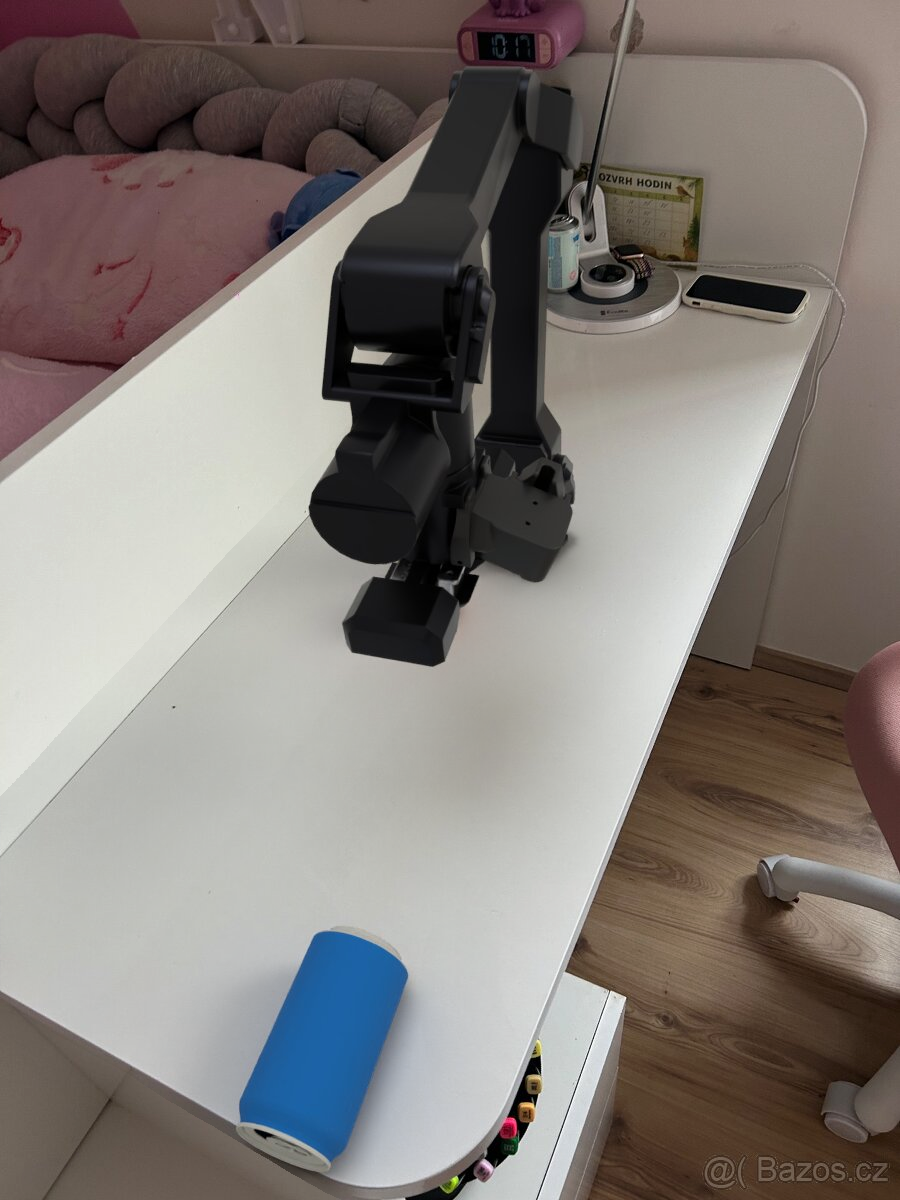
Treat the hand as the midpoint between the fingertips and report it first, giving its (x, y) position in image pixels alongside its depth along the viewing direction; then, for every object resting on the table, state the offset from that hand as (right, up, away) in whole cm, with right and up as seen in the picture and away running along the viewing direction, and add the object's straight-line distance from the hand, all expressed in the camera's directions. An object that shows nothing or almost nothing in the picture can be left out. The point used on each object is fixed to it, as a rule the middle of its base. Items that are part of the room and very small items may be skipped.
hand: (446, 634), depth 66 cm
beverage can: (-5, -19, -7) cm, 21 cm away
